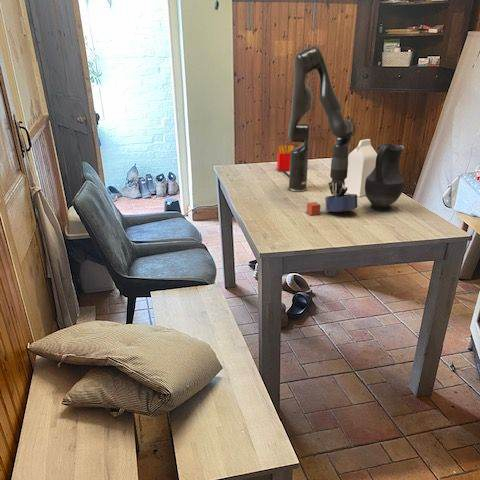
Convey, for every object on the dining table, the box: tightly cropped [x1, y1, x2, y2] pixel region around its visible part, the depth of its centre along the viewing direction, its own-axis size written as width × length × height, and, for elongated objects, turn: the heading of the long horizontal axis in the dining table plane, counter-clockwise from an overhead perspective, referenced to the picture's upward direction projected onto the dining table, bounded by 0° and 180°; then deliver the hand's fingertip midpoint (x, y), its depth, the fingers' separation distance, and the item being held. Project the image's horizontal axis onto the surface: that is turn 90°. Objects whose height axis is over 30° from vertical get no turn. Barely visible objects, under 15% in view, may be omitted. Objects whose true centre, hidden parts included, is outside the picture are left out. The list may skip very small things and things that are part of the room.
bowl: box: [324, 193, 358, 213], centre depth 228 cm, size 14×14×6 cm
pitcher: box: [365, 143, 405, 212], centre depth 227 cm, size 17×21×30 cm
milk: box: [344, 138, 378, 198], centre depth 252 cm, size 12×12×26 cm
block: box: [306, 201, 321, 216], centre depth 229 cm, size 4×4×4 cm
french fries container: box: [276, 144, 295, 172], centre depth 296 cm, size 7×9×14 cm
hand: (336, 205), depth 232 cm, fingers closed
